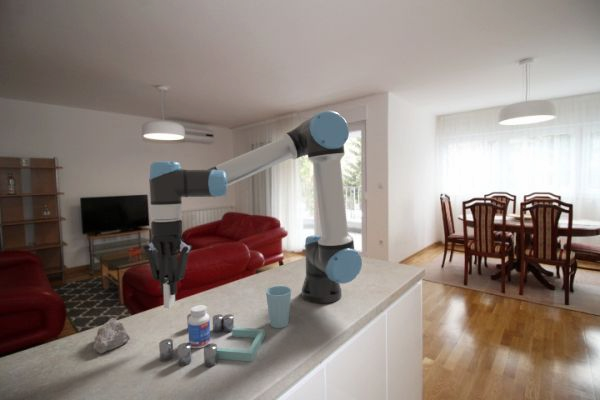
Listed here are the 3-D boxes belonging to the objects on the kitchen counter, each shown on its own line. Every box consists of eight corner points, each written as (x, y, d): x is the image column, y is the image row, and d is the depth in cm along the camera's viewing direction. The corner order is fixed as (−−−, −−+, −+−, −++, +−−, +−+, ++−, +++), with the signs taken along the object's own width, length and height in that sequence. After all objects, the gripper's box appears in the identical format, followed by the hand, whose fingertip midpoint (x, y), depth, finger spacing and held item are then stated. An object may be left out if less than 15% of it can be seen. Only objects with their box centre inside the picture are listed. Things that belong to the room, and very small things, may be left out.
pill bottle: (203, 350, 72) (201, 313, 72) (184, 348, 73) (183, 312, 73) (214, 338, 78) (212, 304, 77) (196, 336, 79) (195, 303, 78)
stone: (94, 358, 70) (92, 335, 70) (91, 342, 77) (90, 321, 77) (131, 345, 75) (130, 324, 75) (125, 331, 83) (124, 312, 82)
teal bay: (264, 336, 78) (264, 329, 78) (251, 361, 67) (251, 353, 67) (233, 333, 80) (233, 327, 80) (216, 358, 69) (215, 350, 69)
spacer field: (241, 328, 83) (241, 315, 83) (212, 369, 65) (212, 352, 65) (192, 324, 86) (191, 311, 85) (150, 363, 67) (149, 347, 67)
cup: (291, 316, 90) (290, 285, 89) (292, 329, 82) (291, 294, 81) (267, 318, 89) (266, 286, 88) (266, 331, 81) (265, 296, 81)
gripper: (196, 218, 77) (199, 301, 79) (154, 217, 80) (157, 298, 81) (181, 222, 70) (183, 313, 71) (134, 221, 72) (138, 310, 73)
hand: (169, 305), depth 76 cm, fingers closed
